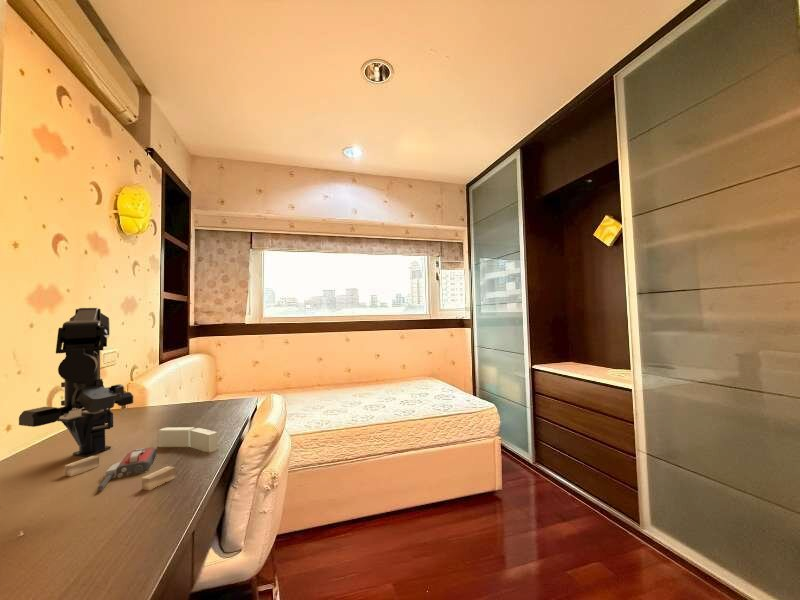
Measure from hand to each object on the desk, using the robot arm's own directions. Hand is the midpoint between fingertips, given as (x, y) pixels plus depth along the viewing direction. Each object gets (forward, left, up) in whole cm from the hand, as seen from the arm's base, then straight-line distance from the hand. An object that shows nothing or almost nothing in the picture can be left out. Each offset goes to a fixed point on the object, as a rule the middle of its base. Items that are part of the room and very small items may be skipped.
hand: (82, 445), depth 77 cm
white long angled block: (0, +26, -10) cm, 28 cm away
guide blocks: (0, +7, -10) cm, 13 cm away
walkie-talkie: (0, +10, -11) cm, 15 cm away
